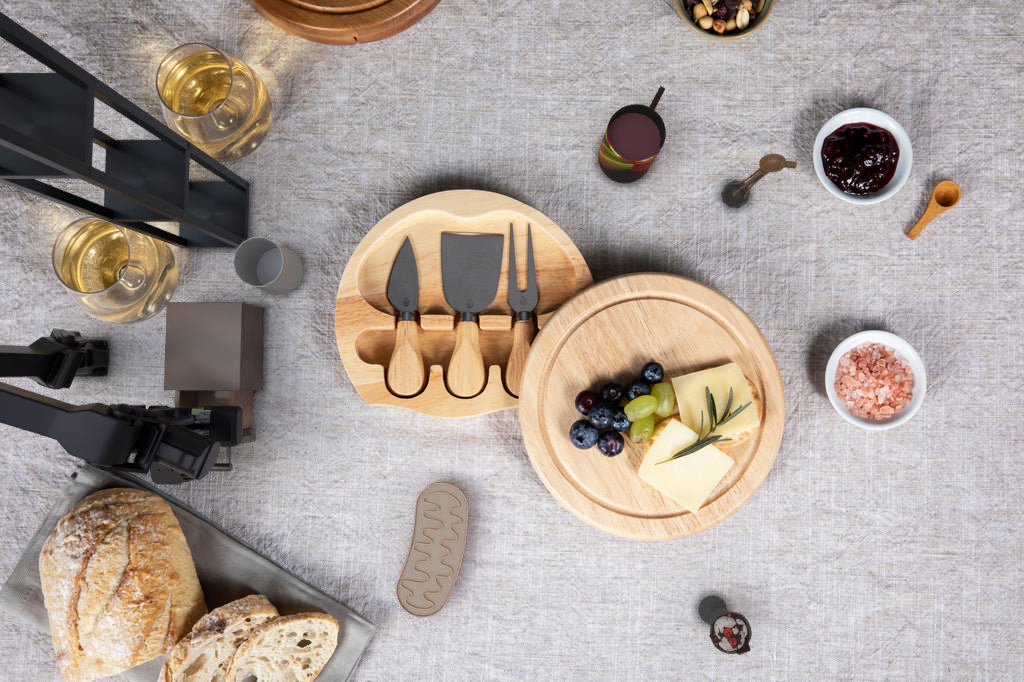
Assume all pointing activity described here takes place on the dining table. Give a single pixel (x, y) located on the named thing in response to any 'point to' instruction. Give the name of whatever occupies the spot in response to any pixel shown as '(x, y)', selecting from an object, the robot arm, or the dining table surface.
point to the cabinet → (213, 346)
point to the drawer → (220, 399)
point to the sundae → (725, 626)
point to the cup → (267, 265)
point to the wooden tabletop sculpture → (753, 180)
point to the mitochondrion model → (434, 550)
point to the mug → (632, 141)
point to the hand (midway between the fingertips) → (205, 421)
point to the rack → (110, 155)
